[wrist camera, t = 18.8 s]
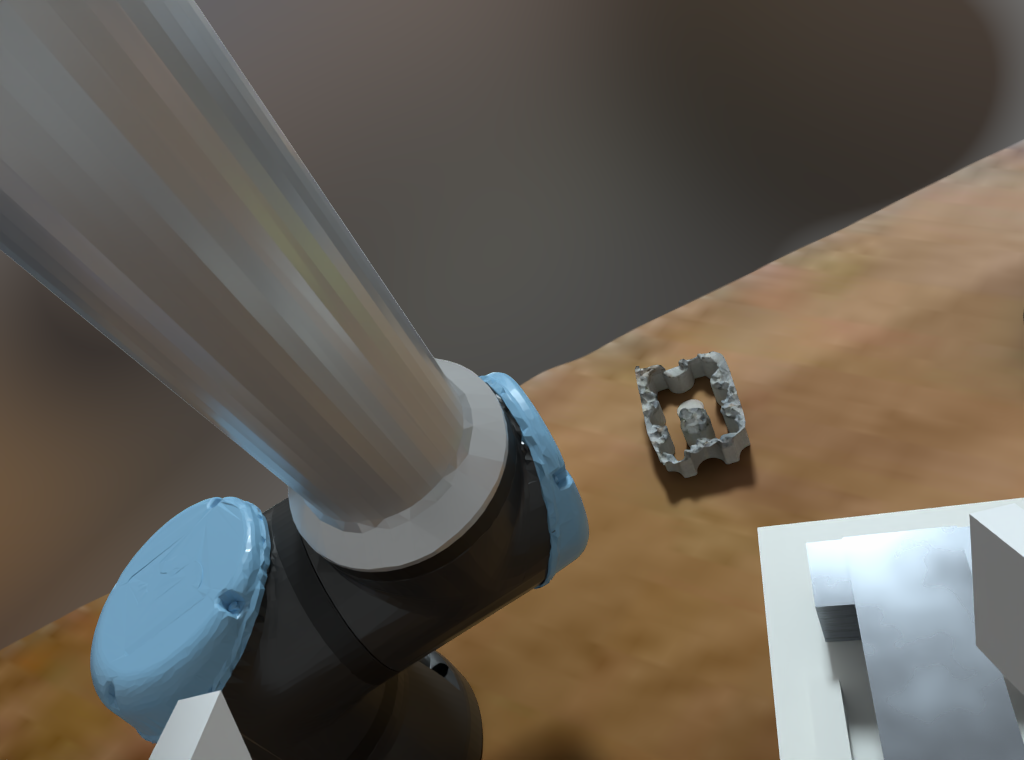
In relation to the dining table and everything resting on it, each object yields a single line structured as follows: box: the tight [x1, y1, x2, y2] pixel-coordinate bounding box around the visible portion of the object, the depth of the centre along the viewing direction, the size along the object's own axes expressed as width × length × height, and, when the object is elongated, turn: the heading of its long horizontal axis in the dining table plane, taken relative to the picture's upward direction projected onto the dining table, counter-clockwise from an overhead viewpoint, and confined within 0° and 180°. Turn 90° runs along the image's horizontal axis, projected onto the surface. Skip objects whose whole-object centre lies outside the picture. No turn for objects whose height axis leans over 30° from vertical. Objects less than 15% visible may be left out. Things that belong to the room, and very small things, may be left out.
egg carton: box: [635, 352, 750, 478], centre depth 62 cm, size 11×8×4 cm
